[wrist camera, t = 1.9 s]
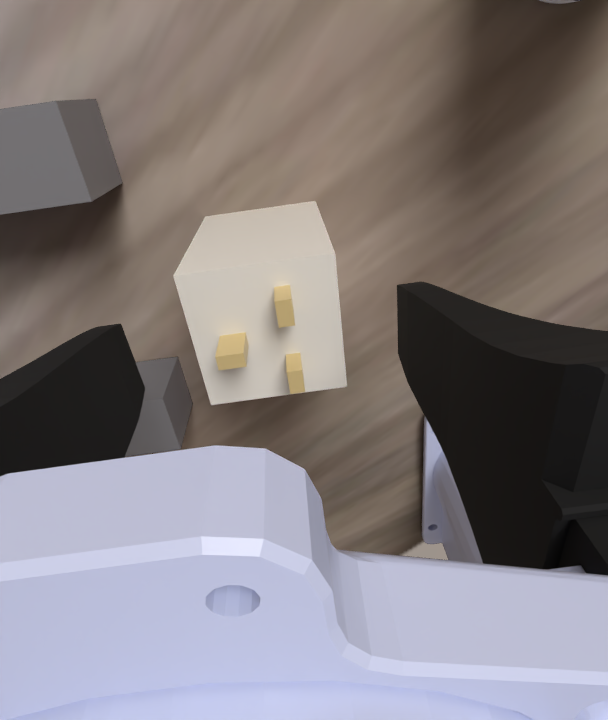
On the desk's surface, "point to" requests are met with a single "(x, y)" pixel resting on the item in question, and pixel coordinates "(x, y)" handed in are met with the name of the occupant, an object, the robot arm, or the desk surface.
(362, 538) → the desk surface
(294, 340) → the plug
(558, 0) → the supplement bottle
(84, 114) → the grey u-shaped bracket
